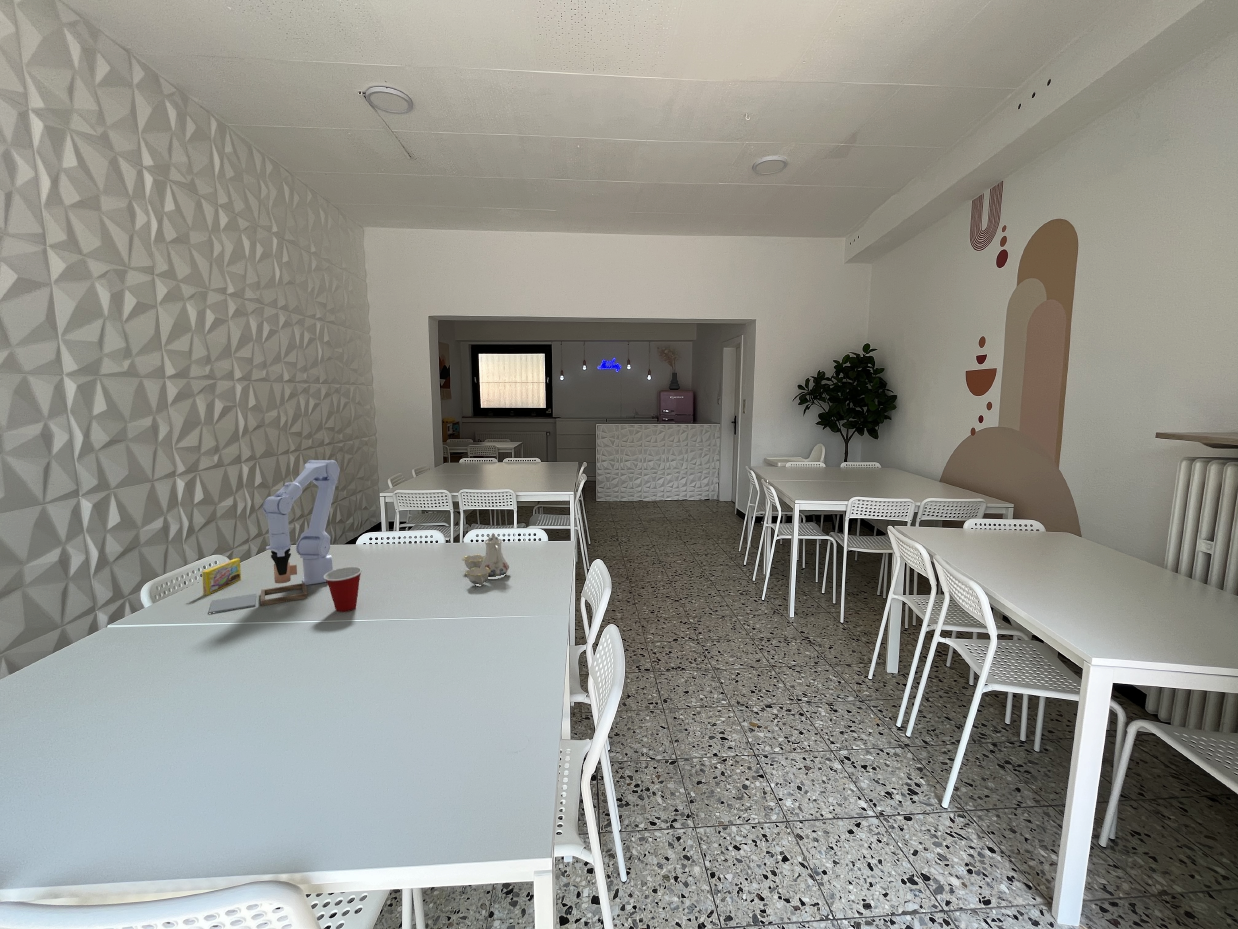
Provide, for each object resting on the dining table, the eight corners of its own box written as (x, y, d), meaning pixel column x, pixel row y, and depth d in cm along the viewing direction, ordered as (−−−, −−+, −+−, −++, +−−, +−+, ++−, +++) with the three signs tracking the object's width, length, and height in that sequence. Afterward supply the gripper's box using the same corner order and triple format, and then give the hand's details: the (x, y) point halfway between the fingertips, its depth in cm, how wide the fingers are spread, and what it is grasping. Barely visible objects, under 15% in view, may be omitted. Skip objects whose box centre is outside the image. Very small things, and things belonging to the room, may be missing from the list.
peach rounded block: (274, 584, 184) (273, 566, 183) (274, 580, 188) (273, 562, 187) (297, 581, 187) (296, 563, 187) (296, 577, 191) (296, 560, 191)
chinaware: (458, 573, 216) (452, 531, 214) (501, 563, 223) (495, 523, 220) (471, 596, 191) (464, 549, 188) (519, 584, 197) (513, 539, 195)
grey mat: (256, 595, 189) (256, 593, 189) (255, 606, 179) (255, 604, 178) (212, 602, 182) (212, 600, 182) (208, 614, 172) (208, 612, 172)
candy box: (209, 595, 189) (206, 571, 188) (202, 595, 189) (200, 571, 188) (242, 580, 205) (240, 558, 204) (236, 580, 205) (234, 558, 204)
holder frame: (305, 586, 197) (305, 582, 196) (307, 598, 186) (307, 593, 185) (261, 593, 190) (261, 589, 190) (261, 605, 179) (260, 601, 179)
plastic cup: (318, 611, 174) (315, 574, 172) (349, 600, 183) (346, 564, 182) (341, 618, 169) (338, 579, 167) (371, 606, 178) (369, 569, 177)
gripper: (265, 529, 189) (268, 568, 191) (264, 538, 177) (268, 580, 179) (289, 527, 193) (292, 565, 195) (290, 535, 181) (293, 576, 182)
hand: (282, 572), depth 187 cm, fingers closed on peach rounded block, 5 cm apart
